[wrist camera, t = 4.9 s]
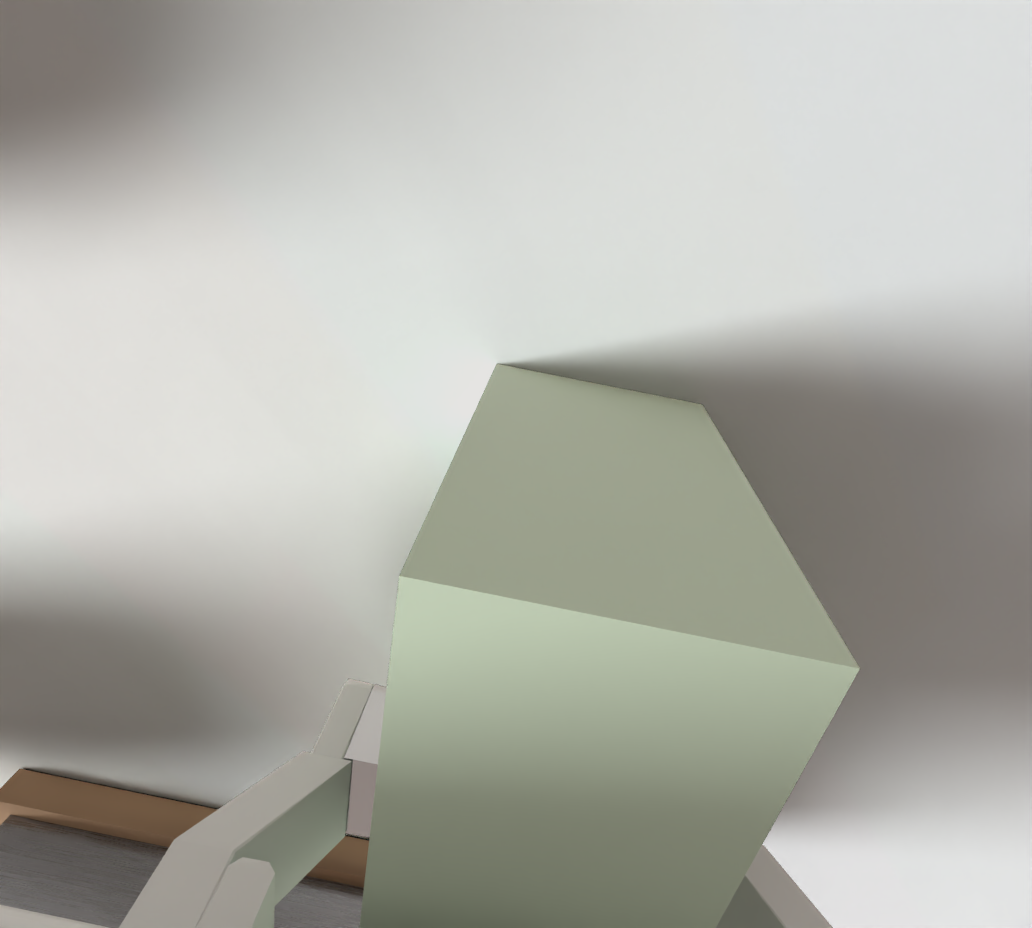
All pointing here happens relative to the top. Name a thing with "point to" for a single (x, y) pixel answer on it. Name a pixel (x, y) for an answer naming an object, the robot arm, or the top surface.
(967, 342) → the top surface
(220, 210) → the top surface
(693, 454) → the green bar
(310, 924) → the locating frame
